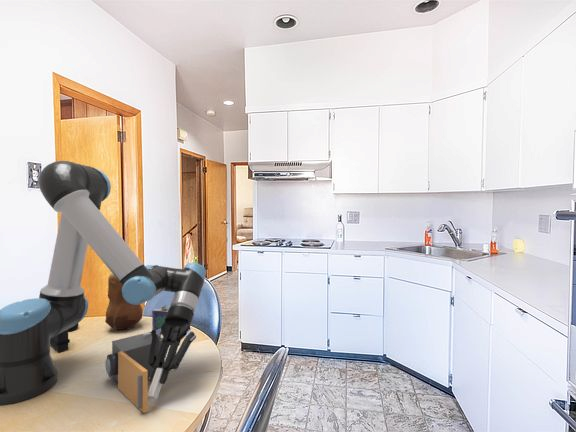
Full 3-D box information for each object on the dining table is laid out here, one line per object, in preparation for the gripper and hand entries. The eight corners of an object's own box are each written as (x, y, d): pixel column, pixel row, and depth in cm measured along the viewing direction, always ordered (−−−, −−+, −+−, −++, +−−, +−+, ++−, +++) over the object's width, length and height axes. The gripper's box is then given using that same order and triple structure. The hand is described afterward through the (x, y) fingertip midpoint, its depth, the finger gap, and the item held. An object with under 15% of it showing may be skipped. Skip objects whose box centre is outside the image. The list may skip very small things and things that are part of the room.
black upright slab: (59, 351, 105) (54, 307, 109) (50, 357, 113) (45, 316, 117) (72, 347, 108) (67, 305, 112) (62, 353, 115) (57, 313, 120)
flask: (150, 333, 125) (150, 305, 125) (155, 331, 128) (156, 303, 128) (172, 336, 123) (172, 307, 123) (176, 333, 126) (177, 305, 126)
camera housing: (111, 391, 84) (112, 351, 84) (102, 376, 92) (102, 340, 92) (164, 372, 94) (164, 337, 94) (152, 361, 102) (152, 328, 102)
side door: (114, 389, 85) (115, 353, 85) (121, 386, 86) (122, 350, 86) (139, 414, 74) (140, 373, 74) (147, 411, 76) (147, 370, 76)
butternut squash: (131, 320, 140) (131, 265, 140) (148, 326, 133) (148, 268, 132) (99, 329, 129) (99, 270, 129) (115, 337, 121) (115, 273, 121)
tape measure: (68, 326, 132) (68, 318, 132) (82, 327, 131) (82, 319, 131) (54, 332, 126) (54, 323, 126) (68, 333, 124) (68, 324, 124)
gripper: (206, 316, 95) (181, 403, 79) (165, 314, 97) (133, 399, 80) (199, 304, 90) (172, 395, 74) (156, 303, 91) (120, 391, 75)
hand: (152, 397), depth 77 cm, fingers closed
